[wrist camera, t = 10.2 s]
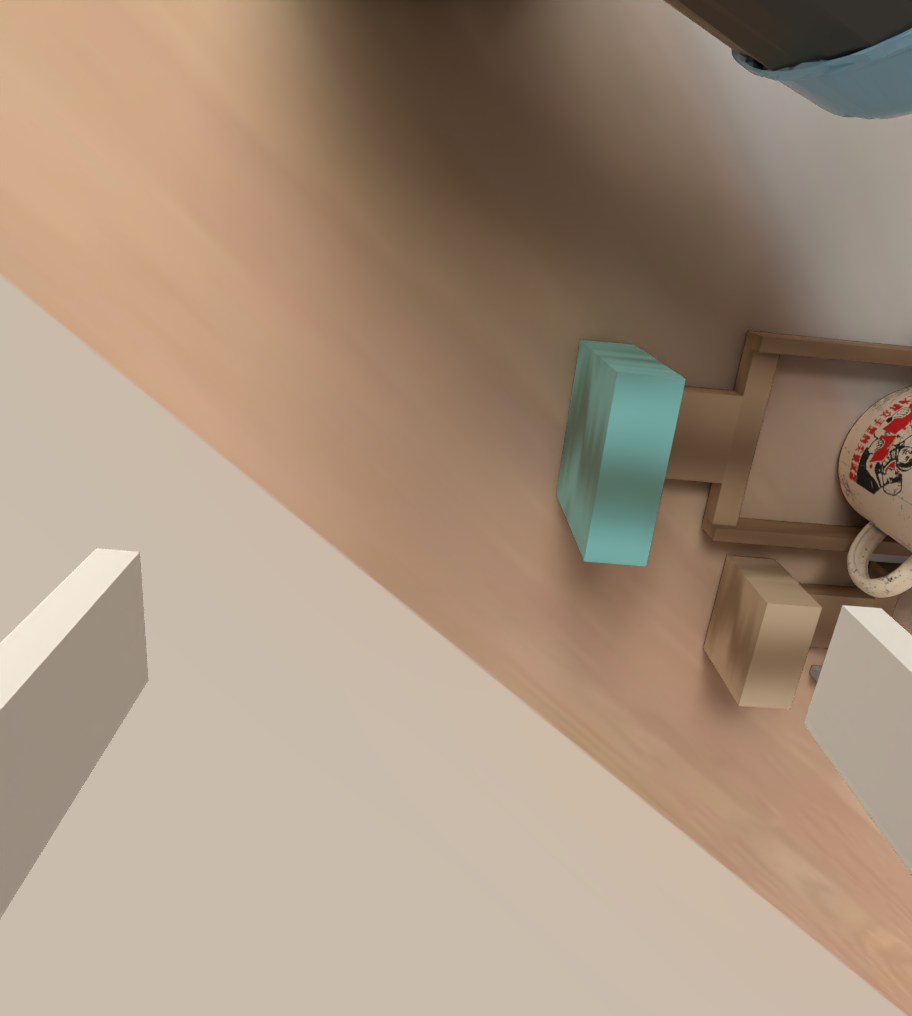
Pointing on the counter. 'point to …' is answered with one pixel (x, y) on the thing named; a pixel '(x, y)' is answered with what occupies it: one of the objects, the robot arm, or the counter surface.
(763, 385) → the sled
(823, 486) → the counter surface
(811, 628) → the sled
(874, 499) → the teacup with lid
